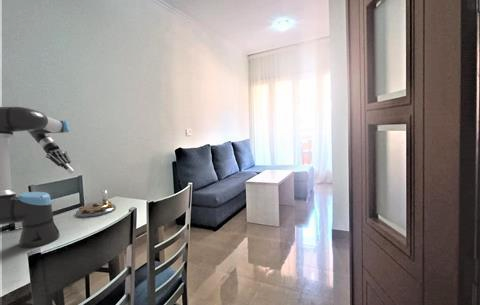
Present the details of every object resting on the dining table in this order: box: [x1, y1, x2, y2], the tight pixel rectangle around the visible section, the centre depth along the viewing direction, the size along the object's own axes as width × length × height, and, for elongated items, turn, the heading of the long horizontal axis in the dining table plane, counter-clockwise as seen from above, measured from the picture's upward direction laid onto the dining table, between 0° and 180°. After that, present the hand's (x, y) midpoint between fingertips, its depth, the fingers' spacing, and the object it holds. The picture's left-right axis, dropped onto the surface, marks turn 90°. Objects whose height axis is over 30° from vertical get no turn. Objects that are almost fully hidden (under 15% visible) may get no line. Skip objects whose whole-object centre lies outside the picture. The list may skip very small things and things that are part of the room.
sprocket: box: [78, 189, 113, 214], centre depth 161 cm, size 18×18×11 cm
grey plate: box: [75, 203, 117, 219], centre depth 162 cm, size 22×22×2 cm
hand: (72, 172), depth 159 cm, fingers closed
